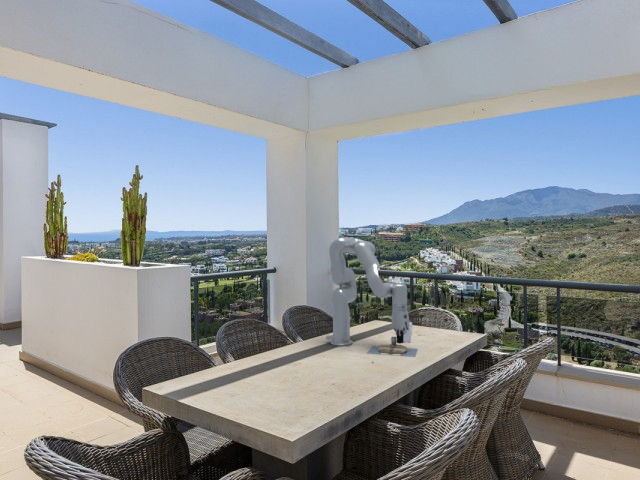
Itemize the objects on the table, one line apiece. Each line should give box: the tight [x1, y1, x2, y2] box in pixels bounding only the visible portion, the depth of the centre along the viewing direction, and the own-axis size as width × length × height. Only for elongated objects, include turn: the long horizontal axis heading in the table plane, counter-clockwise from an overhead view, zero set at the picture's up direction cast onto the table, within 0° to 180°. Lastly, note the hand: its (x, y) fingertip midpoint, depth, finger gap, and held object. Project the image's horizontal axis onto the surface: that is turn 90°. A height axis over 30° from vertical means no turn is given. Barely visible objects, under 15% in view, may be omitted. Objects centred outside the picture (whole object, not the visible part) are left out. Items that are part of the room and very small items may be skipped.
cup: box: [403, 320, 413, 343], centre depth 243 cm, size 9×9×12 cm
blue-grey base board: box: [366, 345, 419, 358], centre depth 220 cm, size 24×17×2 cm
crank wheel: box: [378, 336, 408, 354], centre depth 219 cm, size 15×14×6 cm
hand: (400, 342), depth 224 cm, fingers closed
